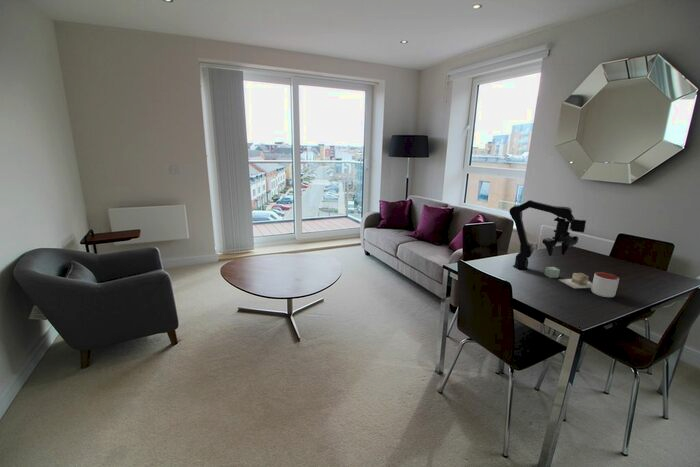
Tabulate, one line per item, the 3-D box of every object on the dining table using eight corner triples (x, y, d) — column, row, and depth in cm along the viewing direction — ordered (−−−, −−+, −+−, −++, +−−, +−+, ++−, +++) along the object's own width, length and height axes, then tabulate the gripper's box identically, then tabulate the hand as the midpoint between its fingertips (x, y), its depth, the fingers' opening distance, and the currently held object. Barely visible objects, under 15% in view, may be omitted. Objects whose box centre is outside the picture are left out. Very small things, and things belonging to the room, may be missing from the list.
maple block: (578, 285, 175) (580, 276, 174) (571, 281, 180) (573, 273, 179) (586, 284, 176) (588, 276, 174) (579, 281, 180) (581, 272, 179)
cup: (610, 291, 169) (614, 273, 166) (618, 299, 160) (623, 281, 157) (587, 288, 172) (591, 271, 169) (594, 296, 163) (598, 278, 160)
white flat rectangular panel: (574, 288, 171) (574, 288, 171) (557, 279, 183) (557, 279, 183) (601, 287, 173) (601, 287, 173) (583, 279, 184) (583, 278, 184)
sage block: (550, 278, 185) (551, 270, 184) (544, 275, 190) (545, 267, 188) (558, 278, 185) (560, 270, 184) (552, 274, 190) (553, 266, 189)
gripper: (561, 234, 172) (555, 261, 176) (588, 232, 177) (582, 259, 181) (544, 228, 183) (539, 254, 187) (570, 227, 187) (564, 252, 192)
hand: (556, 255), depth 186 cm, fingers open, 9 cm apart
